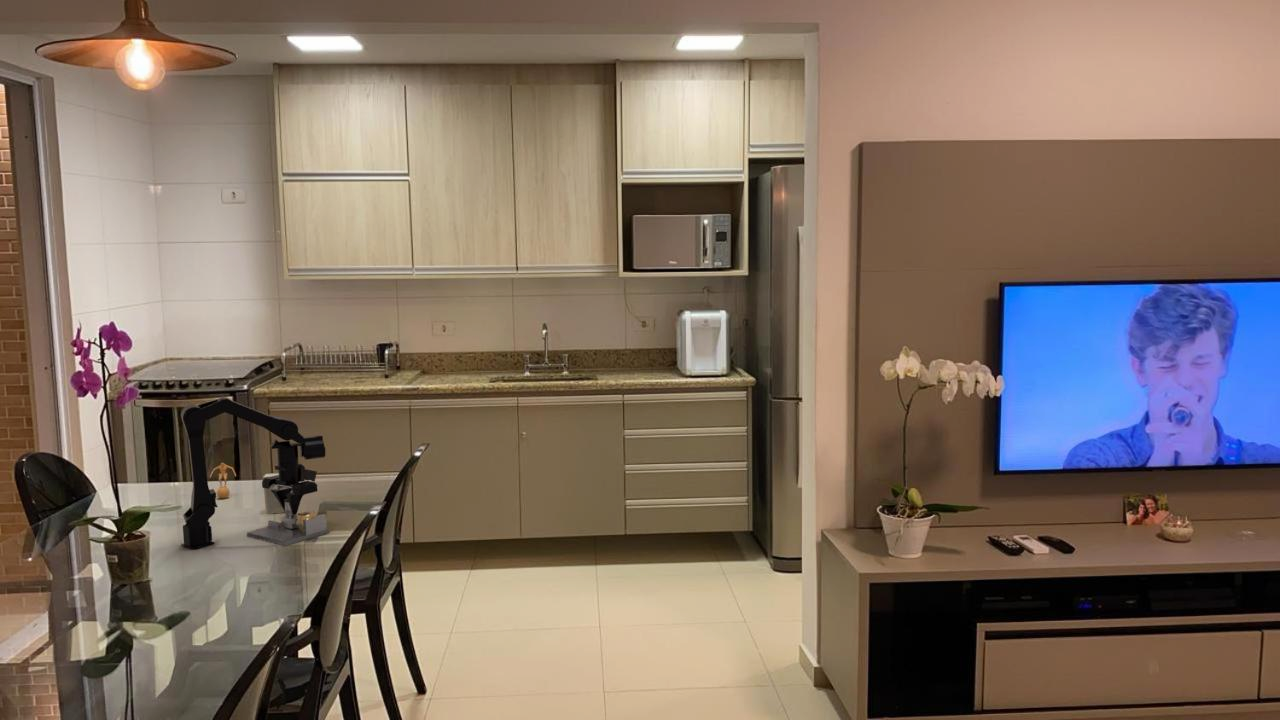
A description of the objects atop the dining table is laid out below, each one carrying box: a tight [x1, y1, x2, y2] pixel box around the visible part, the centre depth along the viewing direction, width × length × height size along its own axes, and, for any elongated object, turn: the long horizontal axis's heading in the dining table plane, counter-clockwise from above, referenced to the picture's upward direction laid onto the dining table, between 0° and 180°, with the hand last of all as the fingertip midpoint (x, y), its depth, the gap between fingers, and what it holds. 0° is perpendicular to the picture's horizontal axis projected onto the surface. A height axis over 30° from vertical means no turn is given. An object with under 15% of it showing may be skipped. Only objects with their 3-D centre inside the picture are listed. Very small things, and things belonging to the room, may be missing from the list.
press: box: [246, 513, 331, 546], centre depth 273 cm, size 15×18×6 cm
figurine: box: [209, 462, 237, 500], centre depth 318 cm, size 8×6×12 cm
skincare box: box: [262, 472, 285, 515], centre depth 299 cm, size 6×4×12 cm
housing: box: [297, 510, 317, 533], centre depth 273 cm, size 5×5×5 cm
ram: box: [280, 497, 298, 529], centre depth 276 cm, size 4×7×8 cm, turn 56°
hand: (291, 513), depth 277 cm, fingers closed on ram, 3 cm apart
